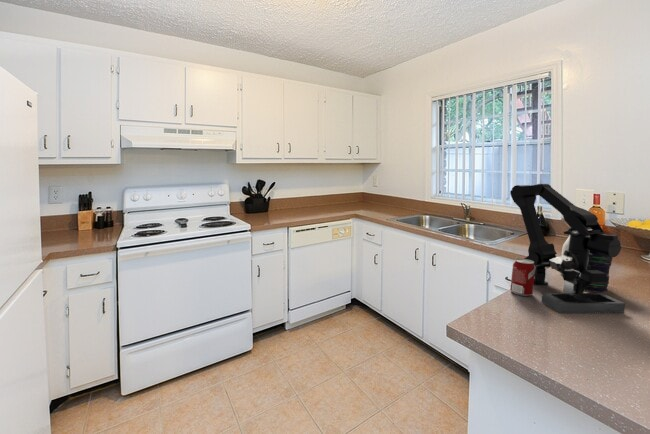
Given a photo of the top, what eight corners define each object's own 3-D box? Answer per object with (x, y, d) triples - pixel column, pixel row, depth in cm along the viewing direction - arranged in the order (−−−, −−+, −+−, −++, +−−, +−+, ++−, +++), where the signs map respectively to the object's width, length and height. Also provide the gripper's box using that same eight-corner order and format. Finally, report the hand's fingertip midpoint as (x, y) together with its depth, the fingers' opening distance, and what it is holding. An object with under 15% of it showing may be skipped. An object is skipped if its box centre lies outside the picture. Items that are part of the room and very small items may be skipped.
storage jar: (615, 292, 113) (621, 252, 111) (587, 292, 113) (593, 251, 111) (592, 282, 123) (597, 245, 121) (566, 282, 123) (571, 245, 121)
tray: (541, 302, 104) (542, 293, 104) (600, 302, 104) (602, 293, 104) (559, 313, 96) (561, 303, 96) (623, 313, 97) (625, 303, 96)
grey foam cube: (562, 293, 112) (564, 280, 111) (573, 293, 112) (575, 280, 111) (571, 298, 108) (573, 284, 107) (583, 298, 108) (585, 284, 107)
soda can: (521, 298, 107) (525, 264, 106) (505, 290, 114) (508, 258, 112) (537, 296, 109) (541, 262, 107) (520, 289, 116) (524, 257, 114)
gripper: (537, 242, 116) (532, 283, 119) (578, 256, 98) (571, 304, 100) (566, 243, 117) (561, 283, 119) (613, 257, 98) (605, 304, 101)
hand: (573, 292), depth 110 cm, fingers closed on grey foam cube, 4 cm apart
